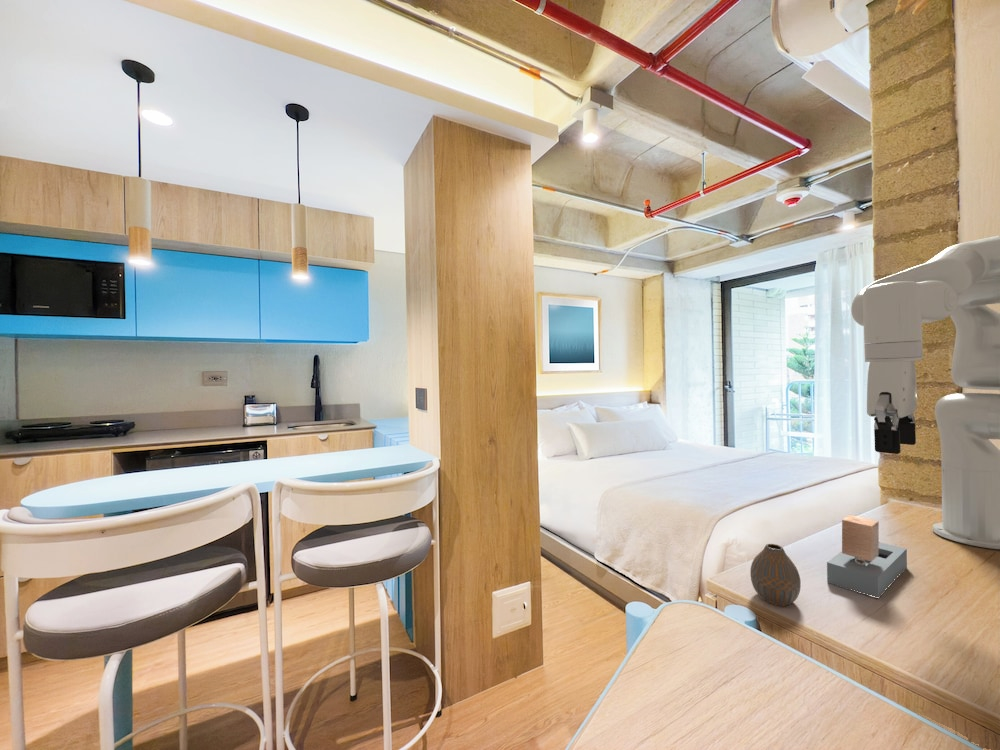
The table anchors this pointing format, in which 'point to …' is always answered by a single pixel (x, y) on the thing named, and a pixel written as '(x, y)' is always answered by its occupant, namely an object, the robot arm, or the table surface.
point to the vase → (775, 576)
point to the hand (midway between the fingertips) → (895, 448)
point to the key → (860, 538)
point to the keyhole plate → (868, 570)
